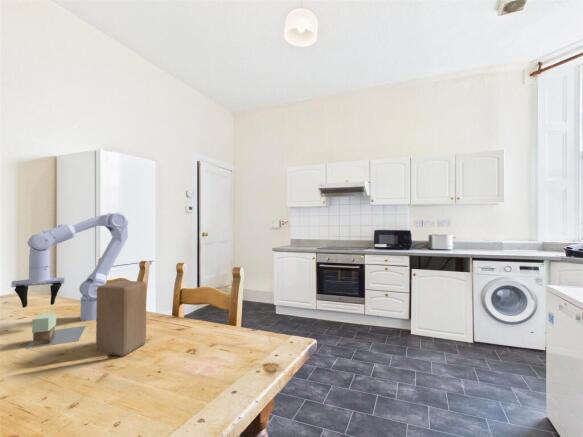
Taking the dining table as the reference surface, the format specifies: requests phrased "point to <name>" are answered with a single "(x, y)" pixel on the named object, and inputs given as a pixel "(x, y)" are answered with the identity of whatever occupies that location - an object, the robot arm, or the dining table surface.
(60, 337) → the baseplate
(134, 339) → the block
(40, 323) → the green brick
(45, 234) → the robot arm
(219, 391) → the dining table surface
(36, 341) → the walnut brick
